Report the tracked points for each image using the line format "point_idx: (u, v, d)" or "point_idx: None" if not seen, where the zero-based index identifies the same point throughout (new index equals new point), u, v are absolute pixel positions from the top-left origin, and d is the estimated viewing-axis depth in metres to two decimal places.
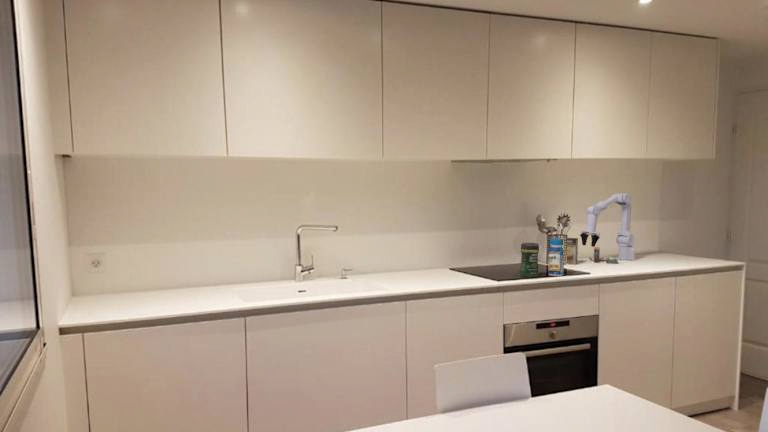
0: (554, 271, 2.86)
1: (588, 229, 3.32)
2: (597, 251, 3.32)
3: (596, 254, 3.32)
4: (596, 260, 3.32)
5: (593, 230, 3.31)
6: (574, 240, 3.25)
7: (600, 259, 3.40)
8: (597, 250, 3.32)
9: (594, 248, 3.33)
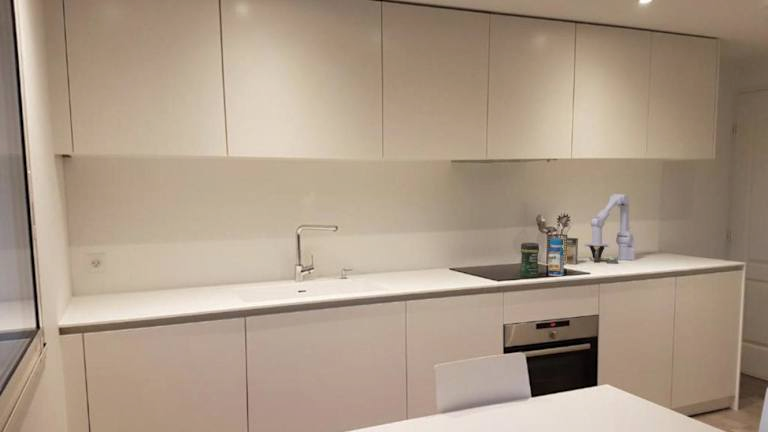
0: (554, 271, 2.86)
1: (598, 242, 3.30)
2: (597, 251, 3.32)
3: (596, 254, 3.32)
4: (596, 260, 3.32)
5: (601, 242, 3.32)
6: (574, 240, 3.25)
7: (600, 259, 3.40)
8: (597, 250, 3.32)
9: (594, 248, 3.33)
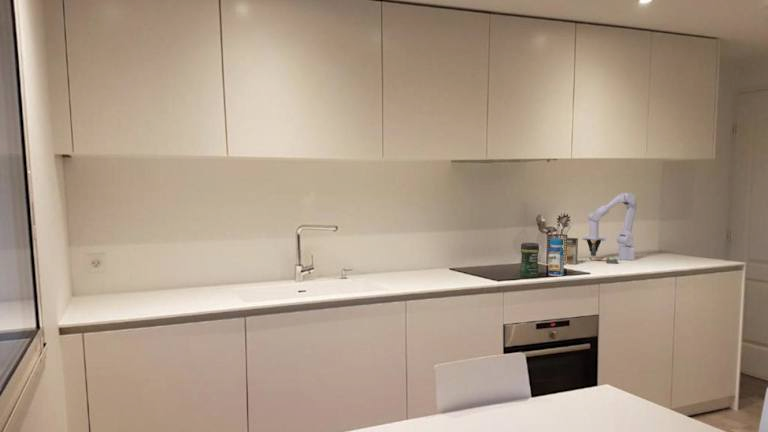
0: (554, 271, 2.86)
1: (595, 236, 3.41)
2: (594, 244, 3.42)
3: (593, 247, 3.43)
4: (593, 253, 3.43)
5: None
6: (574, 240, 3.25)
7: (600, 259, 3.40)
8: (594, 244, 3.42)
9: (591, 242, 3.43)
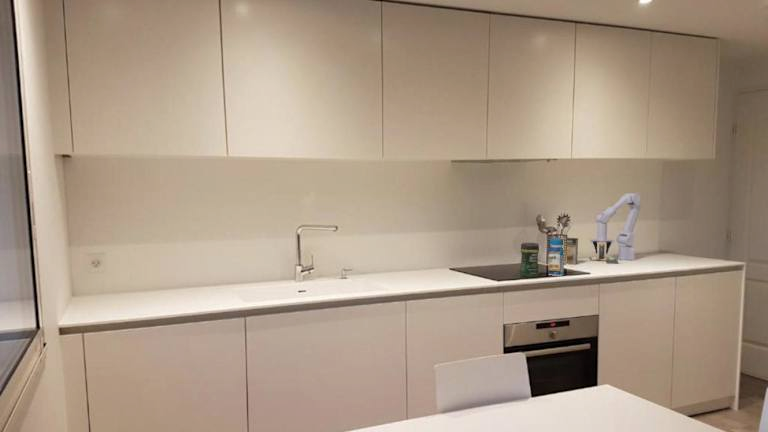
0: (554, 271, 2.86)
1: (603, 238, 3.39)
2: (602, 247, 3.41)
3: (601, 250, 3.41)
4: (601, 256, 3.42)
5: (606, 238, 3.41)
6: (574, 240, 3.25)
7: (600, 259, 3.40)
8: (602, 247, 3.41)
9: (599, 245, 3.42)
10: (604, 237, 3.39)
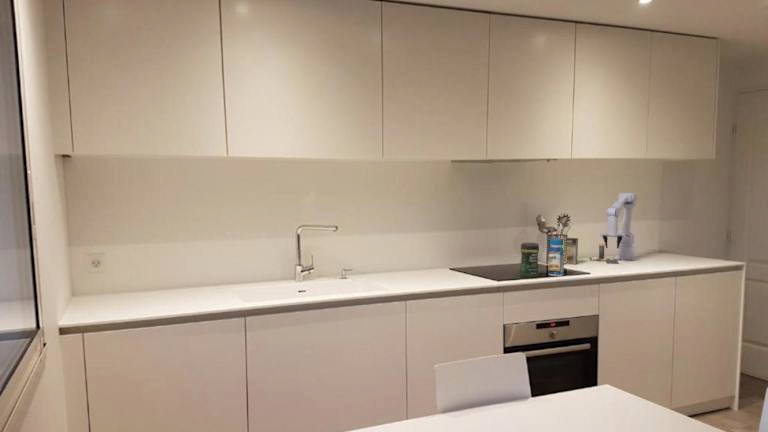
0: (554, 271, 2.86)
1: (614, 232, 3.27)
2: (602, 247, 3.41)
3: (601, 250, 3.41)
4: (601, 256, 3.42)
5: None
6: (574, 240, 3.25)
7: (600, 259, 3.40)
8: (602, 247, 3.41)
9: (599, 245, 3.42)
10: (615, 231, 3.27)
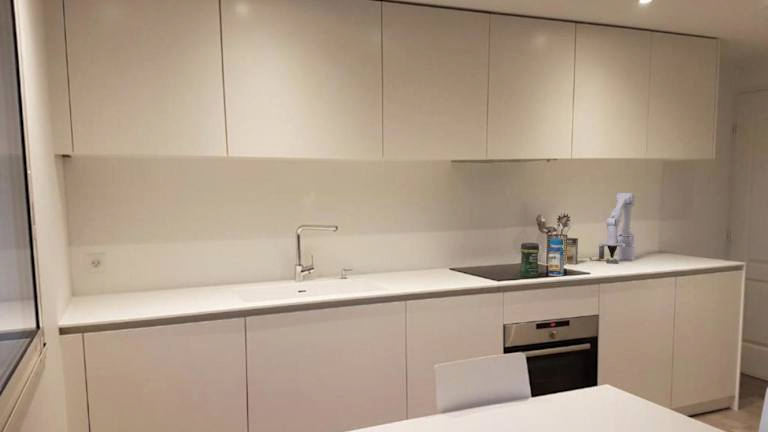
0: (554, 271, 2.86)
1: (614, 242, 3.28)
2: (602, 247, 3.41)
3: (601, 250, 3.41)
4: (601, 256, 3.42)
5: (617, 242, 3.29)
6: (574, 240, 3.25)
7: (600, 259, 3.40)
8: (602, 247, 3.41)
9: (599, 245, 3.42)
10: (615, 241, 3.28)
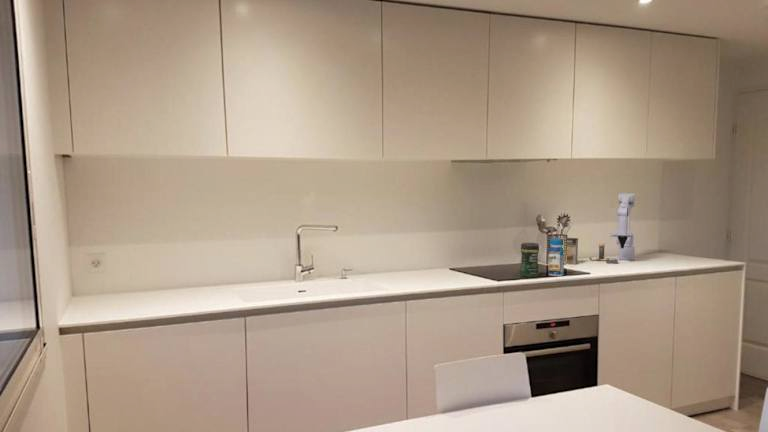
0: (554, 271, 2.86)
1: (624, 232, 3.26)
2: (602, 247, 3.41)
3: (601, 250, 3.41)
4: (601, 256, 3.42)
5: None
6: (574, 240, 3.25)
7: (600, 259, 3.40)
8: (602, 247, 3.41)
9: (599, 245, 3.42)
10: (625, 231, 3.26)
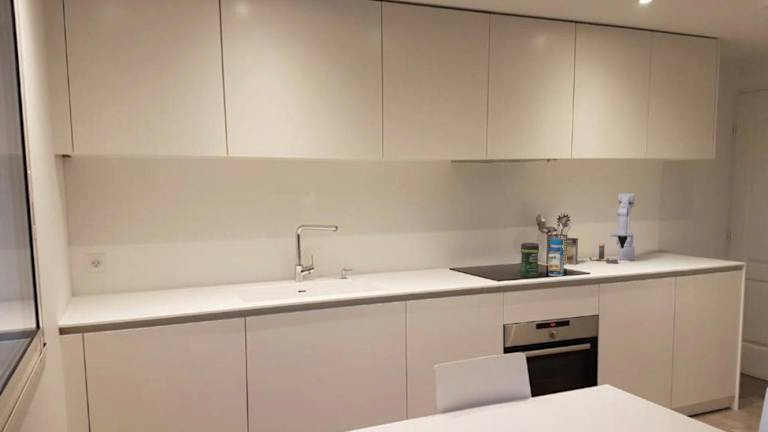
0: (554, 271, 2.86)
1: (624, 232, 3.26)
2: (602, 247, 3.41)
3: (601, 250, 3.41)
4: (601, 256, 3.42)
5: None
6: (574, 240, 3.25)
7: (600, 259, 3.40)
8: (602, 247, 3.41)
9: (599, 245, 3.42)
10: (625, 231, 3.26)
